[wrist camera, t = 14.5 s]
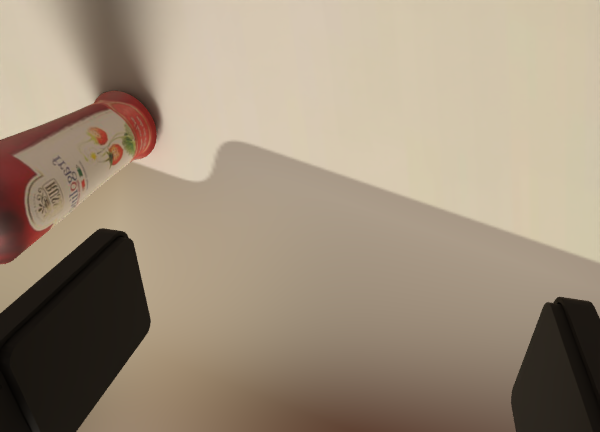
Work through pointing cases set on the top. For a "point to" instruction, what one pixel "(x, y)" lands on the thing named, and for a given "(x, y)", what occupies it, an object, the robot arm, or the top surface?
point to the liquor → (66, 165)
